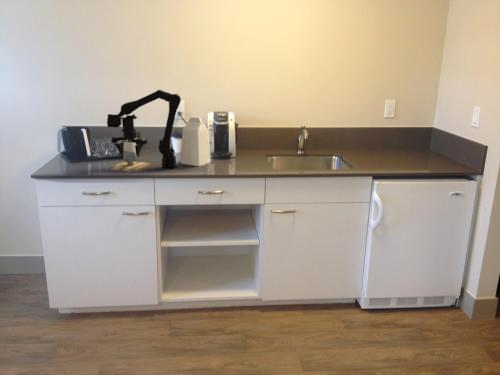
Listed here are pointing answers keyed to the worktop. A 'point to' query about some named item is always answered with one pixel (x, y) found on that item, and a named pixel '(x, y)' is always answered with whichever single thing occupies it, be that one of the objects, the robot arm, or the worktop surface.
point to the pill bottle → (129, 146)
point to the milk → (195, 143)
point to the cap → (129, 155)
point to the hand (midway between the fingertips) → (130, 156)
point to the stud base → (130, 166)
